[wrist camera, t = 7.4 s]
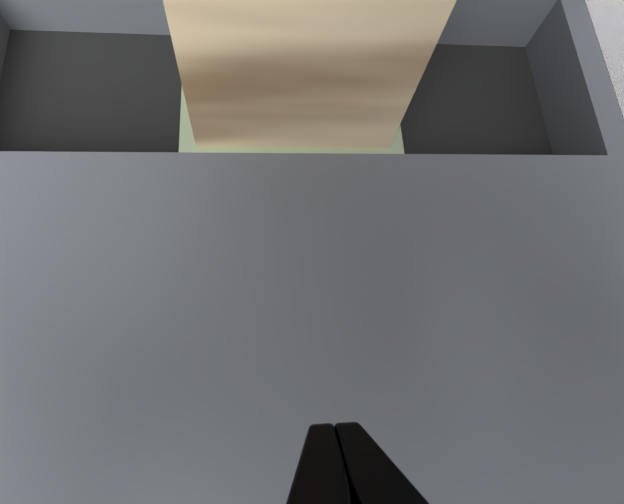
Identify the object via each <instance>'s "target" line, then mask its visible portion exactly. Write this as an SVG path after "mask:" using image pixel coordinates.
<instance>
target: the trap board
mask: <svg viewBox="0 0 624 504" xmlns="http://www.w3.org/2000/svg"><path fill="white" fill-rule="evenodd" d="M340 422H358V423H359V424H360V425H361V426H362V427H363V428H364V429H365V430H366V431H367V433H368V434H369V435H370V436H371V437H372V438H373V439H374V441H375V442H376V443H377V444H378V445H379V446H380V447H381V449H382V450H383V451H384V452H385V453H386V454H387V456H388V457H389V458H390V459H391V460H392V461H393V462H394V464H395V465H396V466H397V467H398V468H399V469H400V470H401V472H402V473H403V474H404V475H405V476H406V477H407V478H408V480H409V481H410V482H411V483H412V484H413V485H414V487H415V488H416V489H417V490H418V491H419V492H420V493H421V495H422V496H423V497H424V498H425V499H426V500H427V501H428V503H429V504H624V118H623V115H622V112H621V109H620V106H619V103H618V100H617V97H616V94H615V91H614V88H613V85H612V82H611V79H610V76H609V72H608V69H607V66H606V63H605V60H604V57H603V54H602V51H601V48H600V45H599V42H598V39H597V36H596V33H595V30H594V26H593V23H592V20H591V17H590V14H589V11H588V8H587V5H586V2H585V0H457V1H456V3H455V5H454V7H453V9H452V12H451V14H450V16H449V18H448V20H447V23H446V25H445V27H444V29H443V31H442V33H441V36H440V38H439V40H438V42H437V44H436V47H435V49H434V51H433V53H432V55H431V58H430V60H429V62H428V64H427V66H426V68H425V71H424V73H423V75H422V77H421V79H420V82H419V84H418V86H417V88H416V90H415V93H414V95H413V97H412V99H411V101H410V103H409V106H408V108H407V110H406V112H405V114H404V117H403V119H402V121H401V123H400V125H399V128H398V130H397V132H396V134H395V136H394V138H393V141H392V143H391V145H390V147H389V149H361V148H232V147H196V145H195V140H194V136H193V131H192V127H191V123H190V118H189V114H188V109H187V105H186V101H185V96H184V92H183V87H182V83H181V79H180V74H179V70H178V65H177V61H176V57H175V52H174V48H173V43H172V39H171V35H170V30H169V26H168V21H167V17H166V13H165V8H164V4H163V0H0V504H286V502H287V498H288V495H289V492H290V488H291V485H292V482H293V478H294V475H295V472H296V468H297V465H298V462H299V458H300V455H301V452H302V448H303V445H304V442H305V438H306V435H307V432H308V428H309V426H310V425H312V424H322V423H331V424H333V426H334V425H335V424H336V423H340Z"/></svg>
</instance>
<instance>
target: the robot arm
mask: <svg viewBox="0 0 624 504" xmlns="http://www.w3.org/2000/svg"><path fill="white" fill-rule="evenodd" d="M286 504H429V503H428V501H427V500H426V499H425V498H424V497H423V496H422V495H421V493H420V492H419V491H418V490H417V489H416V488H415V487H414V485H413V484H412V483H411V482H410V481H409V480H408V478H407V477H406V476H405V475H404V474H403V473H402V472H401V470H400V469H399V468H398V467H397V466H396V465H395V464H394V462H393V461H392V460H391V459H390V458H389V457H388V456H387V454H386V453H385V452H384V451H383V450H382V449H381V447H380V446H379V445H378V444H377V443H376V442H375V441H374V439H373V438H372V437H371V436H370V435H369V434H368V433H367V431H366V430H365V429H364V428H363V427H362V426H361V425H360V424H359V423H358V422H340V423H336V424H335V425H334V426H333V424H331V423H322V424H312V425H310V426H309V428H308V432H307V435H306V438H305V442H304V445H303V448H302V452H301V455H300V458H299V462H298V465H297V468H296V472H295V475H294V478H293V482H292V485H291V488H290V492H289V495H288V498H287V502H286Z"/></svg>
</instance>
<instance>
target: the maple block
mask: <svg viewBox="0 0 624 504" xmlns="http://www.w3.org/2000/svg"><path fill="white" fill-rule="evenodd" d="M456 1H457V0H163V4H164V8H165V13H166V17H167V21H168V26H169V30H170V35H171V39H172V43H173V48H174V52H175V57H176V61H177V65H178V70H179V74H180V79H181V83H182V87H183V92H184V96H185V101H186V105H187V109H188V114H189V118H190V123H191V127H192V131H193V136H194V140H195V145H196V147H232V148H361V149H389V147H390V145H391V143H392V141H393V138H394V136H395V134H396V132H397V130H398V128H399V125H400V123H401V121H402V119H403V117H404V114H405V112H406V110H407V108H408V106H409V103H410V101H411V99H412V97H413V95H414V93H415V90H416V88H417V86H418V84H419V82H420V79H421V77H422V75H423V73H424V71H425V68H426V66H427V64H428V62H429V60H430V58H431V55H432V53H433V51H434V49H435V47H436V44H437V42H438V40H439V38H440V36H441V33H442V31H443V29H444V27H445V25H446V23H447V20H448V18H449V16H450V14H451V12H452V9H453V7H454V5H455V3H456Z"/></svg>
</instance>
